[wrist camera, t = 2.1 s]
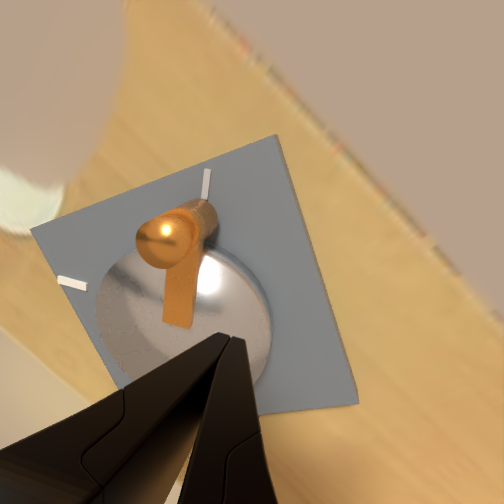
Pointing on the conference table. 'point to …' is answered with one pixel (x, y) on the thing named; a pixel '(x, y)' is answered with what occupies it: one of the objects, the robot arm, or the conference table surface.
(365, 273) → the conference table surface
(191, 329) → the dial
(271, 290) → the dial plate
